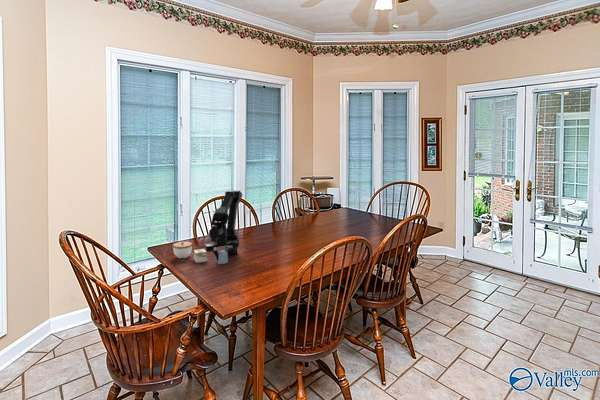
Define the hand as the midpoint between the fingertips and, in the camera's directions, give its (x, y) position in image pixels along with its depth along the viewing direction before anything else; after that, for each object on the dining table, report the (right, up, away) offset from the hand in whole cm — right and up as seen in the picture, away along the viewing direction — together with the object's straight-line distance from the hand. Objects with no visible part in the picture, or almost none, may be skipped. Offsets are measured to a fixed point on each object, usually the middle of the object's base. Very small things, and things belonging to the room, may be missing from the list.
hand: (221, 260), depth 205 cm
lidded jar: (-25, 0, +9) cm, 26 cm away
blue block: (0, -1, 0) cm, 1 cm away
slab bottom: (-13, -1, +3) cm, 13 cm away
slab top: (-13, +2, +2) cm, 13 cm away
